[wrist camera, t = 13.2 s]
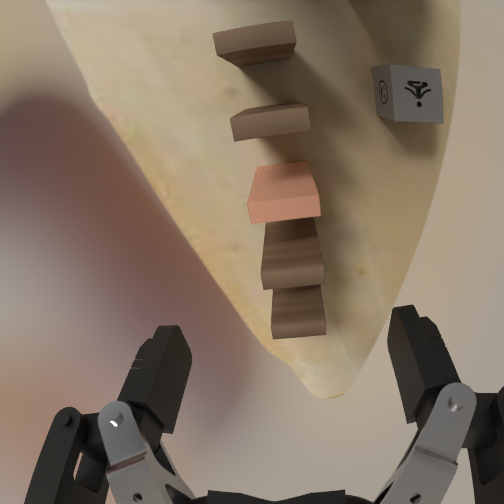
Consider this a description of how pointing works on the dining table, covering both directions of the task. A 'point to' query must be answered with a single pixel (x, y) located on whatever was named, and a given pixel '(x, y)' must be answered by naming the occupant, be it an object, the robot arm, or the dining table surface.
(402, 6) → the dining table surface
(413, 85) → the dice cube
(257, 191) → the domino
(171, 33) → the dining table surface
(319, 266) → the domino
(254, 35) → the domino
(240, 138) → the domino
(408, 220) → the dining table surface
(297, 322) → the domino
